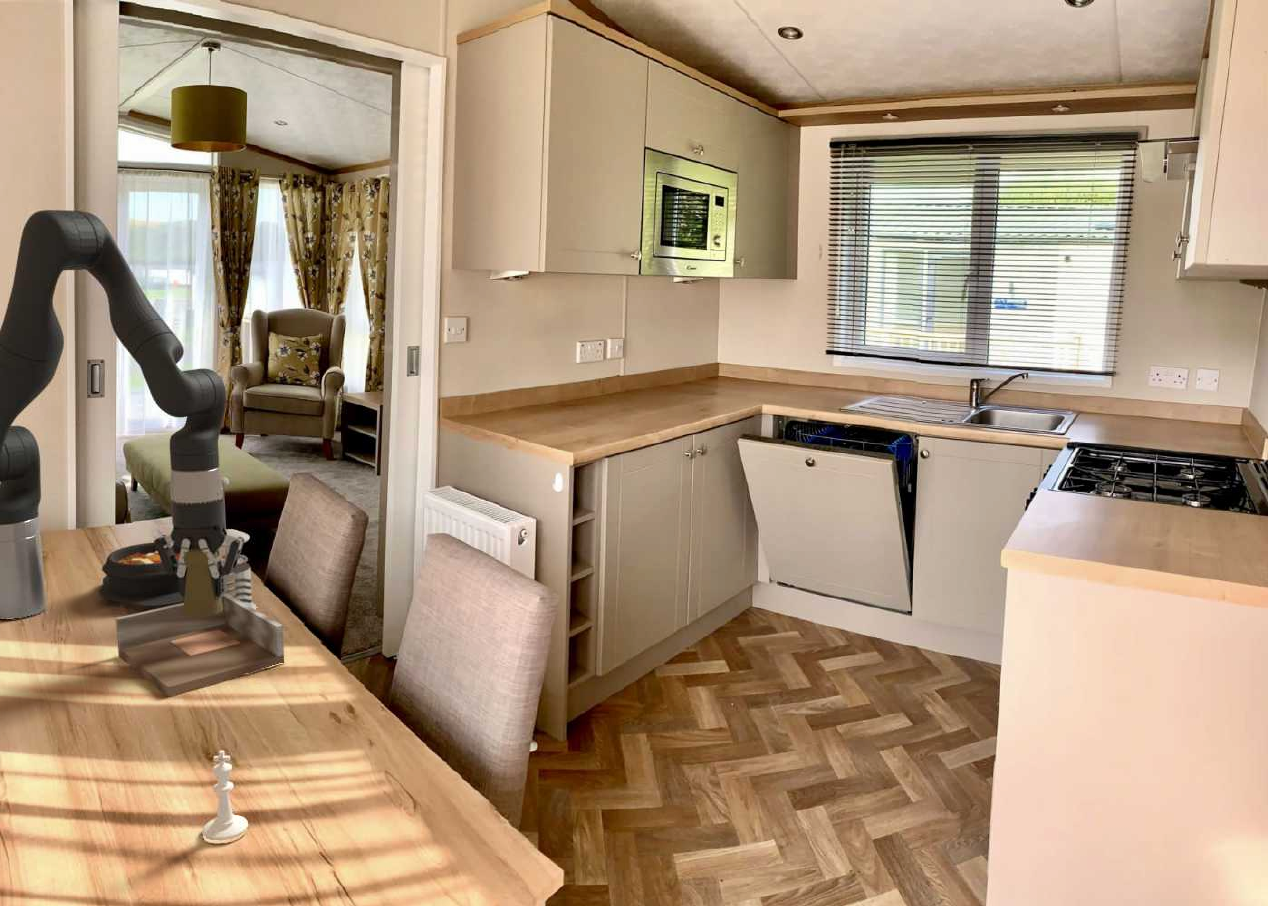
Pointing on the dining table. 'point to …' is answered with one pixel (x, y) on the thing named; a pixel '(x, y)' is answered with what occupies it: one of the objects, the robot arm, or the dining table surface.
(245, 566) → the french press
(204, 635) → the board
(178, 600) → the casserole
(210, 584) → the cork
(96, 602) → the dining table surface
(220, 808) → the chess piece
